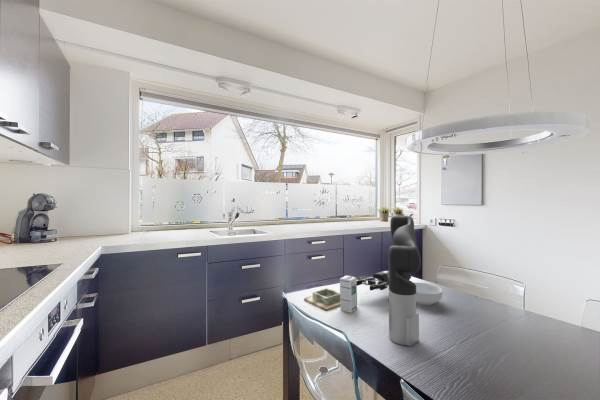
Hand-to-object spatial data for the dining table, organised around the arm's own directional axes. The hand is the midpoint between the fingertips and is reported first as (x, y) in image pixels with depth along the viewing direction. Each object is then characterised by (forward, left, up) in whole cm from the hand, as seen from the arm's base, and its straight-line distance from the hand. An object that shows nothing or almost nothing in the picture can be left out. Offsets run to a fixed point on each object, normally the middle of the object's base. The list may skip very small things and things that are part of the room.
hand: (362, 285), depth 127 cm
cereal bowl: (-17, -24, -9) cm, 30 cm away
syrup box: (0, +10, -9) cm, 13 cm away
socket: (+13, +11, -9) cm, 19 cm away
